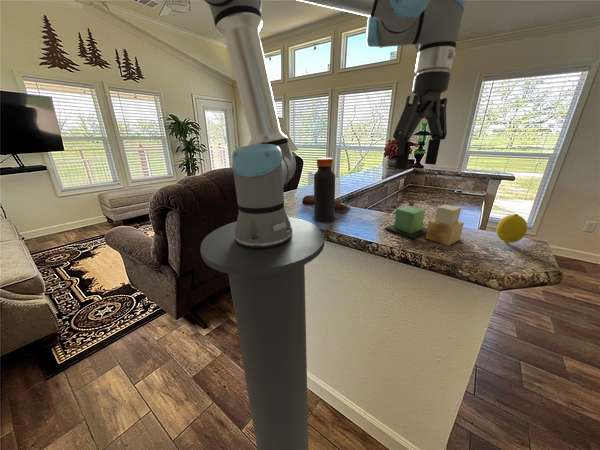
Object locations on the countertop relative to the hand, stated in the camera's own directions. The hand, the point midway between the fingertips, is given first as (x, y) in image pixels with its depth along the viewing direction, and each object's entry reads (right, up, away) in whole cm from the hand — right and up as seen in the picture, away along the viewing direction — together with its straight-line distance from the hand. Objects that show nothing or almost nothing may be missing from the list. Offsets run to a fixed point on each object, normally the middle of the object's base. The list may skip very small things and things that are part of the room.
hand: (416, 166), depth 63 cm
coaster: (+1, -17, +7) cm, 19 cm away
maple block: (+7, -19, +1) cm, 21 cm away
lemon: (+22, -21, -2) cm, 30 cm away
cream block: (+7, -15, -1) cm, 17 cm away
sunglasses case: (-21, -9, +30) cm, 38 cm away
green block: (+1, -17, +7) cm, 18 cm away
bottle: (-23, -14, +18) cm, 32 cm away
